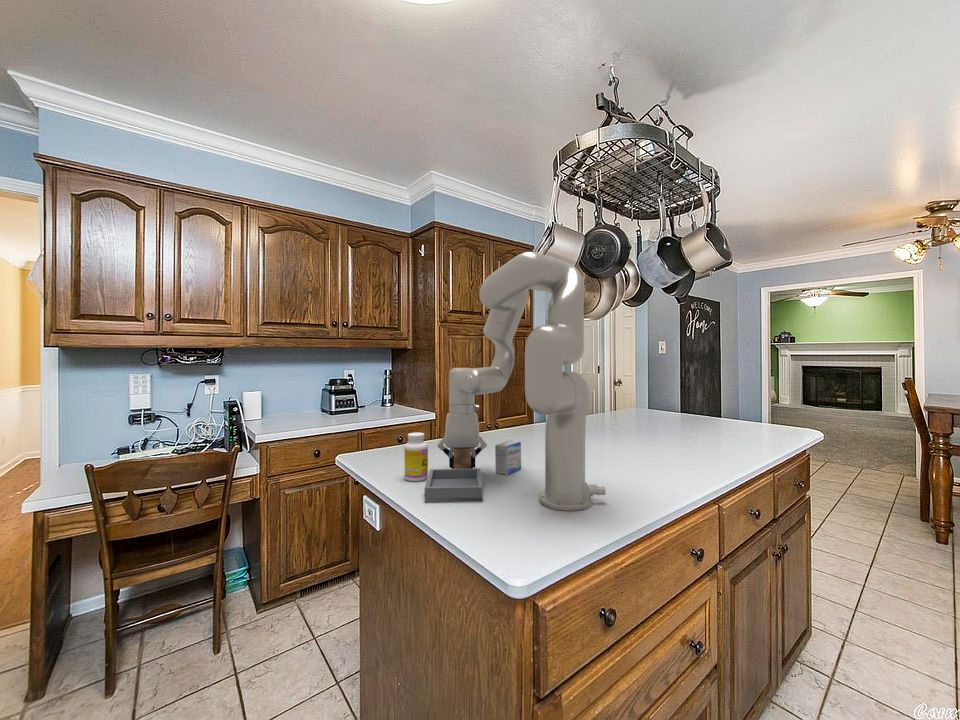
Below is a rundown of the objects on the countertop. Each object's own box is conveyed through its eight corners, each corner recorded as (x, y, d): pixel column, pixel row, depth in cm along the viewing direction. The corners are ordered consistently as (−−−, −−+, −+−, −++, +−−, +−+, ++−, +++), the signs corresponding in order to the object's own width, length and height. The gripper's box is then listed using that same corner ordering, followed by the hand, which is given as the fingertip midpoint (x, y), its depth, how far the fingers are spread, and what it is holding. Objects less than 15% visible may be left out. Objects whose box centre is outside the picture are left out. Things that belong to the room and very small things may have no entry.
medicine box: (507, 475, 121) (507, 446, 121) (495, 472, 124) (494, 444, 124) (521, 469, 127) (521, 441, 127) (509, 466, 130) (509, 439, 130)
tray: (480, 480, 116) (480, 468, 116) (482, 501, 100) (482, 487, 100) (430, 481, 116) (430, 469, 116) (424, 502, 100) (424, 488, 100)
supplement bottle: (424, 482, 115) (423, 436, 115) (401, 481, 116) (400, 436, 116) (430, 475, 121) (430, 432, 121) (409, 474, 123) (408, 431, 122)
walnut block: (470, 471, 126) (470, 445, 125) (470, 476, 121) (470, 448, 120) (454, 471, 125) (454, 445, 125) (453, 476, 120) (453, 449, 120)
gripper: (489, 407, 127) (490, 466, 127) (434, 407, 126) (434, 466, 126) (491, 410, 119) (491, 473, 120) (432, 411, 118) (432, 474, 119)
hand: (462, 469), depth 123 cm, fingers closed on walnut block, 5 cm apart
